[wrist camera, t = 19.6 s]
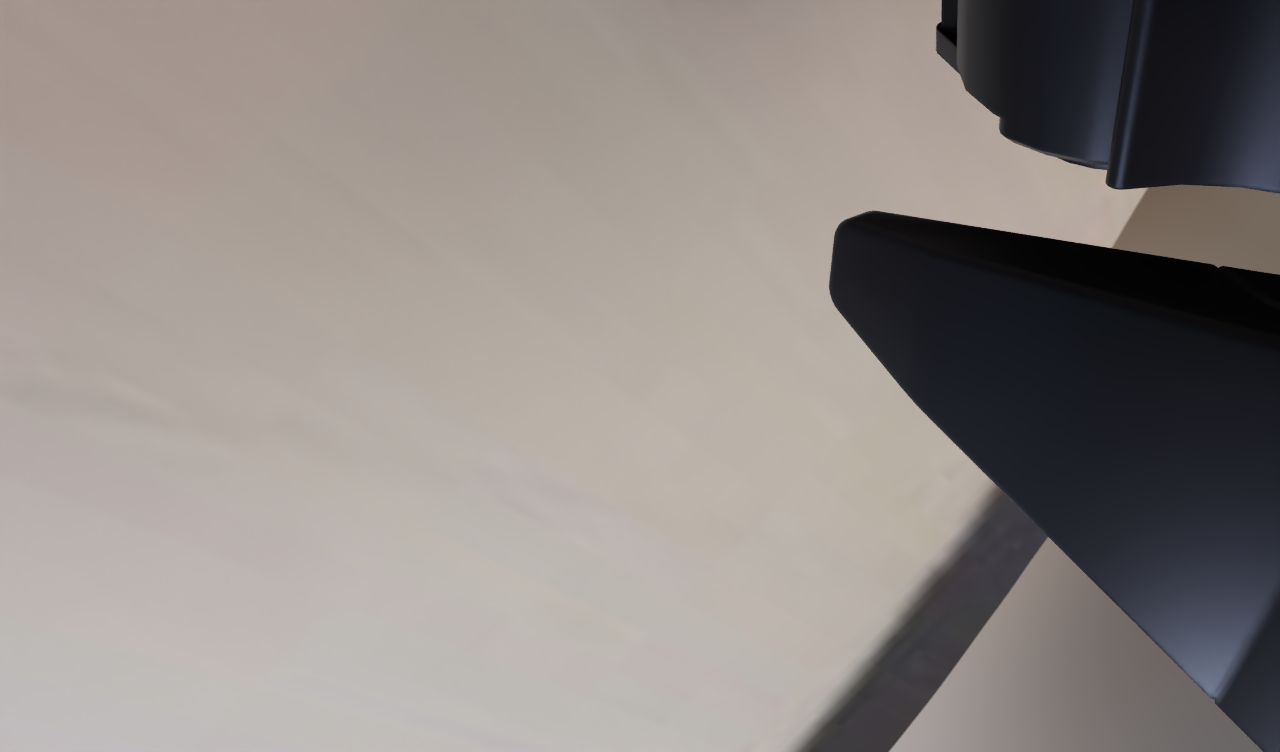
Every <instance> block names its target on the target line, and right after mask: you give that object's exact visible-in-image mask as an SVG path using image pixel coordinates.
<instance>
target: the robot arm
mask: <svg viewBox="0 0 1280 752" xmlns="http://www.w3.org/2000/svg"><path fill="white" fill-rule="evenodd" d="M936 51H937V53H938V54H939V55H940V56H941V57H942V58H943V59H944V60H945V61H946V62H947V63H948V64H949V65H951V66H952V67H953V68H954V69H955V70H956V71H957V72H958V73H959V74H960V75H961V78H962V81H963V84H964V86H965V89H966V91H968V92H969V93H970V94H971V95H972V96H973V97H975V98H976V99H977V100H978V101H979V102H980V103H982V104H983V105H984V106H985V107H986V108H987V109H989V110H990V111H991V112H992V113H993V114H995V115H997V116H999V117H1000V123H999V129H1000V133H1001V134H1002V135H1003V136H1005V137H1006V138H1008V139H1009V140H1011V141H1012V142H1014V143H1016V144H1019V145H1022V146H1024V147H1027V148H1030V149H1032V150H1035V151H1037V152H1040V153H1043V154H1045V155H1049V156H1053V157H1057V158H1059V159H1062V160H1064V161H1066V162H1069V163H1073V164H1077V165H1081V166H1085V167H1089V168H1093V169H1103V170H1107V176H1106V184H1107V185H1108V186H1109V187H1111V188H1114V189H1119V190H1120V189H1135V188H1146V187H1157V186H1169V185H1181V184H1183V185H1203V186H1224V187H1242V188H1249V189H1255V190H1262V191H1267V192H1274V193H1280V0H942V22H940V23H939V24H938V25H937V27H936ZM829 290H830V295H831V298H832V301H833V303H834V305H835V307H836V308H837V310H838V311H839V312H840V313H841V314H842V316H843V317H844V318H845V319H846V321H847V322H848V323H849V324H850V325H851V327H852V328H853V329H854V330H855V332H856V333H857V334H858V335H859V336H860V338H861V339H862V340H863V341H864V343H865V344H866V345H867V346H868V347H869V349H870V350H871V351H872V352H873V354H874V355H875V356H876V357H877V358H878V360H879V361H880V362H881V363H882V364H883V366H884V367H885V368H886V369H887V371H888V372H889V373H890V374H891V375H892V377H893V378H894V379H895V380H896V382H897V383H898V384H899V385H900V386H901V388H902V389H903V390H904V391H905V392H906V393H907V395H908V396H909V397H910V398H911V399H912V400H913V402H914V403H915V404H916V405H917V406H918V407H919V408H920V409H921V410H922V411H923V412H924V413H925V414H926V415H927V416H928V417H929V418H930V419H931V420H932V421H933V422H934V423H935V424H936V425H937V426H938V427H939V428H940V429H941V430H942V431H943V432H944V433H945V434H946V435H947V436H948V437H949V438H950V439H951V440H952V441H953V442H954V443H955V444H956V445H957V446H958V447H959V448H960V449H961V450H962V451H963V452H964V453H965V454H966V455H967V456H968V457H969V458H970V459H971V460H972V461H973V462H974V463H975V464H976V465H977V466H978V467H979V468H980V469H981V470H982V471H983V472H984V473H985V474H986V475H987V476H988V477H989V478H990V479H991V480H992V481H993V482H994V483H995V484H996V485H997V486H998V487H999V488H1000V489H1001V490H1002V491H1003V492H1004V493H1005V494H1006V495H1007V496H1008V497H1009V498H1010V499H1011V500H1012V501H1013V502H1014V503H1015V504H1016V505H1017V506H1018V507H1019V508H1020V509H1021V510H1022V511H1023V512H1024V513H1025V514H1026V515H1027V516H1028V517H1029V518H1030V519H1031V520H1032V521H1033V522H1034V523H1035V524H1036V525H1037V526H1038V527H1039V528H1040V529H1041V530H1042V531H1043V532H1044V533H1045V534H1046V535H1047V536H1048V537H1049V538H1050V539H1051V540H1052V541H1053V542H1054V543H1055V544H1056V545H1057V546H1058V547H1059V548H1060V549H1061V550H1062V551H1063V552H1064V553H1065V554H1066V555H1067V556H1068V557H1069V558H1070V559H1071V560H1072V561H1073V562H1074V563H1076V565H1077V566H1078V567H1079V568H1080V569H1081V570H1082V571H1083V572H1084V573H1085V574H1087V576H1088V577H1089V578H1090V579H1091V580H1092V581H1093V582H1094V583H1095V584H1096V585H1097V586H1098V587H1099V588H1101V590H1102V591H1104V593H1106V595H1107V596H1109V598H1110V599H1112V601H1113V602H1114V603H1116V605H1117V606H1119V607H1120V608H1121V609H1122V610H1123V611H1124V612H1125V613H1126V614H1127V615H1128V616H1129V617H1130V618H1131V619H1132V620H1133V621H1134V622H1135V623H1136V624H1137V625H1138V626H1139V627H1140V628H1141V629H1142V630H1143V631H1144V632H1145V633H1146V634H1147V635H1148V636H1149V637H1150V638H1151V639H1152V640H1153V641H1154V642H1155V643H1156V644H1157V645H1158V646H1159V647H1160V648H1161V649H1162V650H1163V651H1164V652H1165V653H1166V654H1167V655H1168V656H1169V657H1170V658H1171V659H1172V660H1173V661H1174V662H1175V663H1176V664H1177V665H1178V666H1179V667H1180V668H1181V669H1182V670H1183V671H1184V672H1185V673H1186V674H1187V675H1188V676H1189V677H1190V678H1191V679H1192V680H1193V681H1194V682H1195V683H1196V684H1197V685H1198V686H1199V687H1200V688H1201V689H1202V690H1203V691H1204V692H1205V693H1206V694H1207V695H1208V696H1209V697H1210V698H1212V699H1215V704H1216V705H1217V706H1218V707H1219V708H1220V709H1221V710H1222V711H1223V712H1224V713H1225V714H1226V715H1227V716H1228V717H1229V718H1230V719H1231V720H1232V721H1233V722H1234V723H1235V724H1236V725H1237V726H1238V727H1239V728H1240V729H1241V730H1242V731H1243V732H1244V733H1245V734H1246V735H1247V736H1248V737H1249V738H1250V739H1251V740H1252V741H1253V742H1254V743H1255V744H1256V745H1257V746H1258V747H1259V748H1260V749H1261V750H1262V751H1263V752H1280V275H1278V274H1271V273H1264V272H1257V271H1251V270H1245V269H1238V268H1232V267H1226V266H1221V267H1219V268H1217V267H1216V266H1215V265H1212V264H1207V263H1200V262H1194V261H1188V260H1181V259H1175V258H1168V257H1163V256H1156V255H1150V254H1144V253H1137V252H1131V251H1124V250H1119V249H1112V248H1106V247H1100V246H1094V245H1087V244H1081V243H1075V242H1068V241H1062V240H1056V239H1050V238H1043V237H1037V236H1031V235H1025V234H1018V233H1012V232H1006V231H999V230H993V229H987V228H981V227H974V226H968V225H962V224H956V223H949V222H943V221H937V220H930V219H924V218H918V217H912V216H905V215H899V214H893V213H887V212H880V211H869V212H865V213H862V214H860V215H857V216H854V217H852V218H849V219H846V220H844V221H843V222H842V223H840V224H839V226H838V228H837V230H836V231H835V236H834V244H833V253H832V263H831V272H830V281H829Z"/></svg>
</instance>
